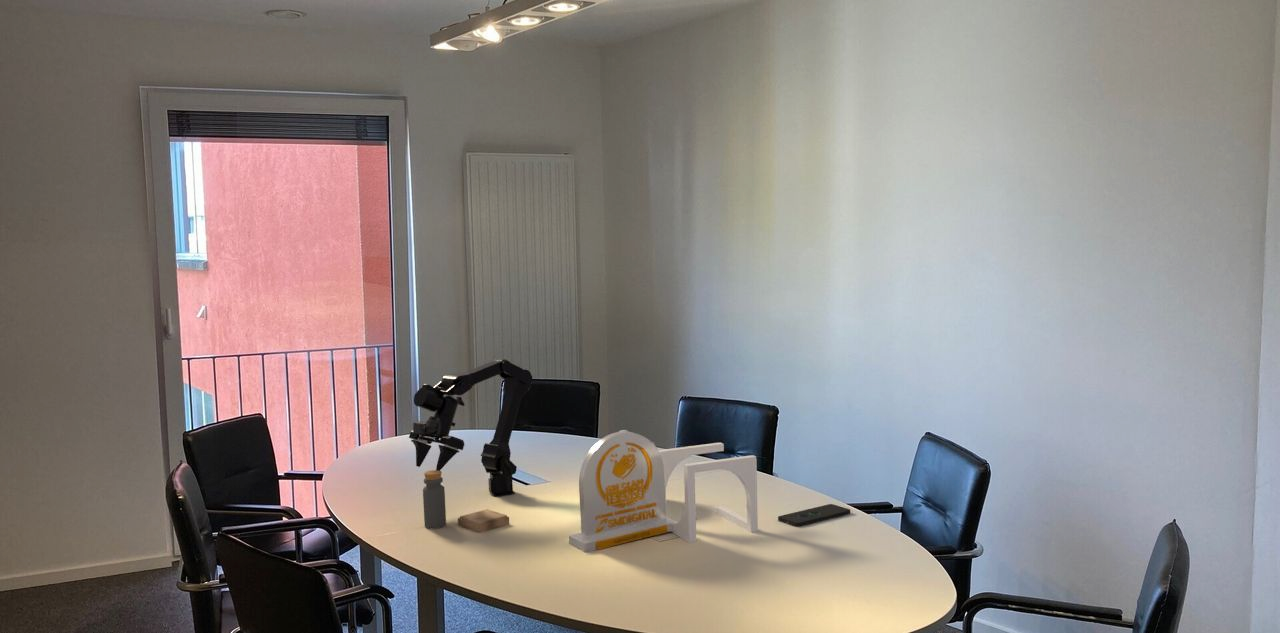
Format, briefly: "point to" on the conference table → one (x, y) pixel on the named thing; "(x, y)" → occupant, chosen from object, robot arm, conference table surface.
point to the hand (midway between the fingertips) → (427, 468)
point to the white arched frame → (739, 466)
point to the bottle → (434, 500)
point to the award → (621, 493)
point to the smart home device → (814, 515)
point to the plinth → (483, 520)
